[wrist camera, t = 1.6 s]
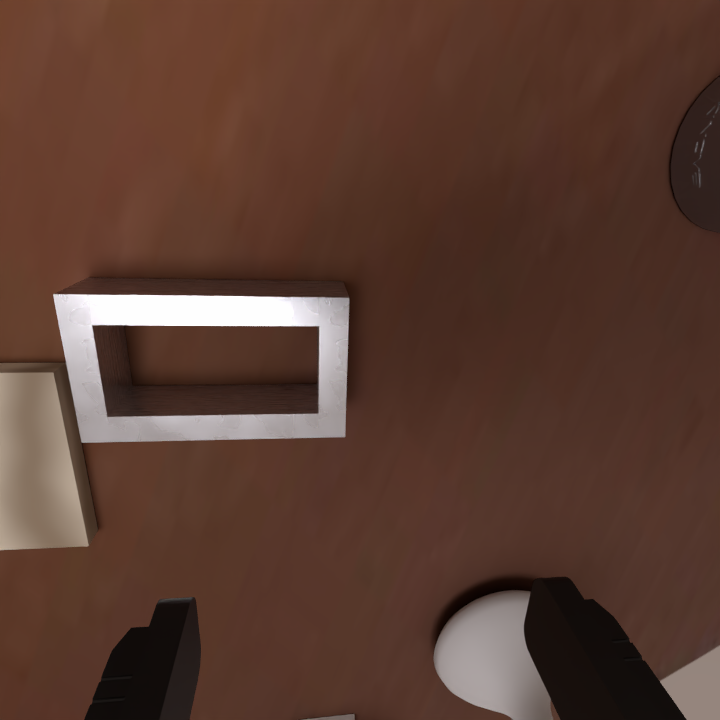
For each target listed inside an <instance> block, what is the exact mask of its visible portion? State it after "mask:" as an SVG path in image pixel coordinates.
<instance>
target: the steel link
mask: <svg viewBox="0 0 720 720" xmlns="http://www.w3.org/2000/svg"><path fill="white" fill-rule="evenodd" d="M53 296H54V302H55V307H56V312H57V317H58V322H59V328H60V333H61V338H62V343H63V349H64V354H65V359H66V364H67V369H68V375H69V380H70V385H71V390H72V395H73V401H74V406H75V411H76V416H77V421H78V427H79V432H80V437H81V442H82V443H90V442H136V441H183V440H229V439H276V438H322V437H345V423H346V391H347V359H348V327H349V295H348V293H347V290H346V287H345V285H344V282H341V281H278V280H215V279H152V278H89V277H88V278H86V279H84V280H82V281H80V282H78V283H76V284H74V285H72V286H69V287H67V288H65V289H63V290H61V291H59V292H57V293H55V294H53ZM124 325H188V326H317V384H281V385H166V386H133V385H132V378H131V371H130V364H129V357H128V350H127V343H126V336H125V329H124Z"/></svg>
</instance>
